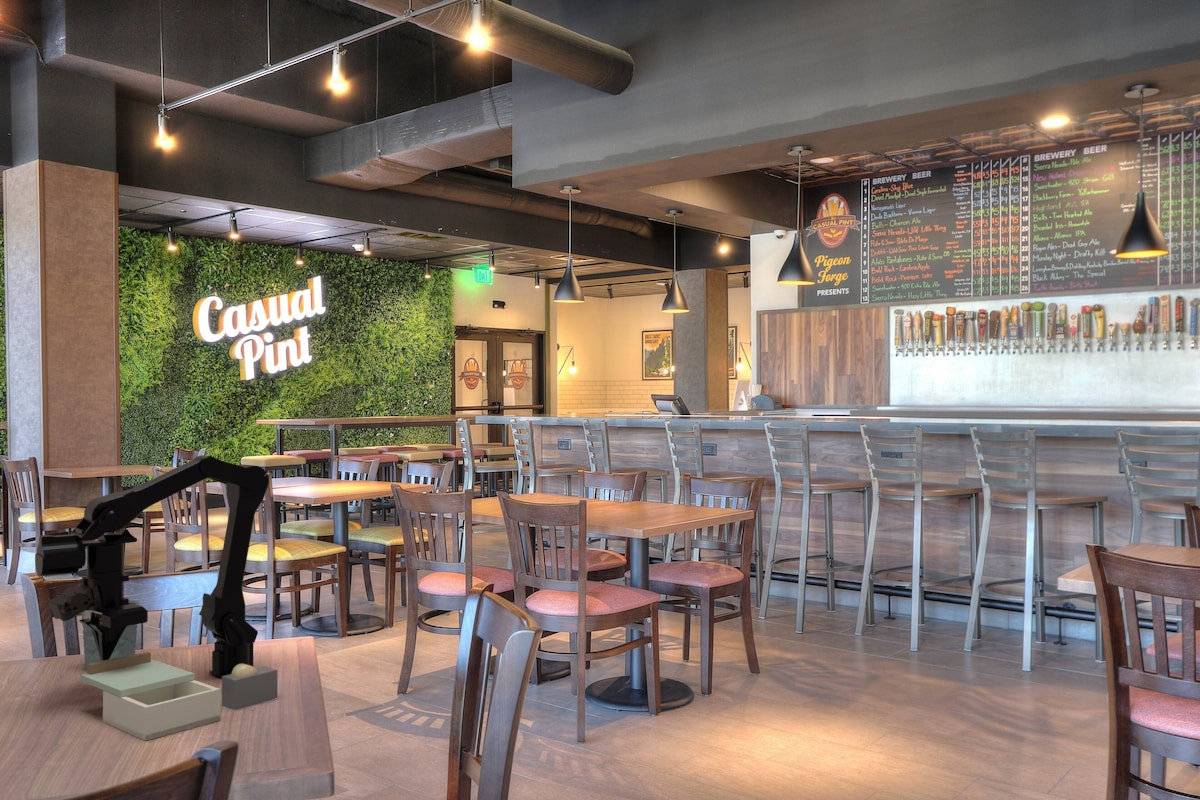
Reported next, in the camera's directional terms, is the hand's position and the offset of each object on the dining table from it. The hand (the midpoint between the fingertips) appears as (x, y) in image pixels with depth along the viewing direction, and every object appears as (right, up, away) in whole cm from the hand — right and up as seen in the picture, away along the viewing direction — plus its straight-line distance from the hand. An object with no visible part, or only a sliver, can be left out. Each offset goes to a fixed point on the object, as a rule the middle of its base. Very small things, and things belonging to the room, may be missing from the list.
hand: (105, 660), depth 161 cm
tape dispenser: (+26, -7, -2) cm, 27 cm away
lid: (+9, -1, -7) cm, 12 cm away
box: (+16, -6, -12) cm, 21 cm away
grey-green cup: (-10, -7, +20) cm, 23 cm away
